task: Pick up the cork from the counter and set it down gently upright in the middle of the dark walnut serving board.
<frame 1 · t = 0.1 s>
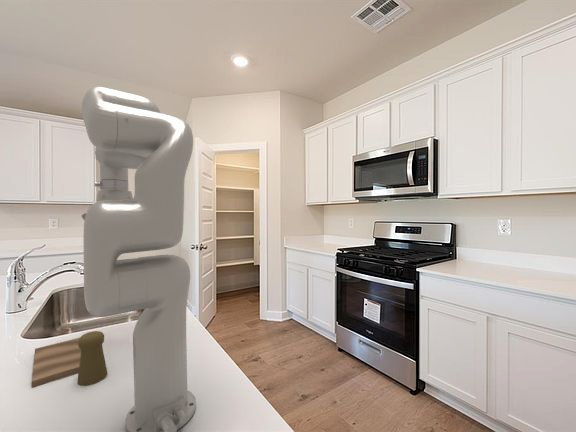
hand: (116, 240, 88), 31 cm above the table, tool pointing down, fingers open, 9 cm apart
cork: (92, 378, 67), on the table
walnut board: (63, 360, 75), on the table
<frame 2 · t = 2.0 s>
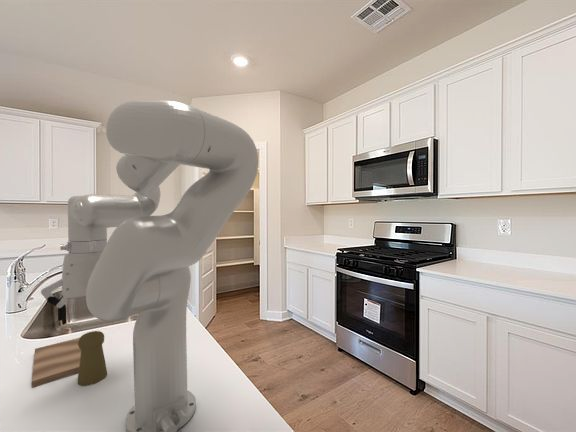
hand: (89, 317, 67), 15 cm above the table, tool pointing down, fingers open, 9 cm apart
nothing on the table moved.
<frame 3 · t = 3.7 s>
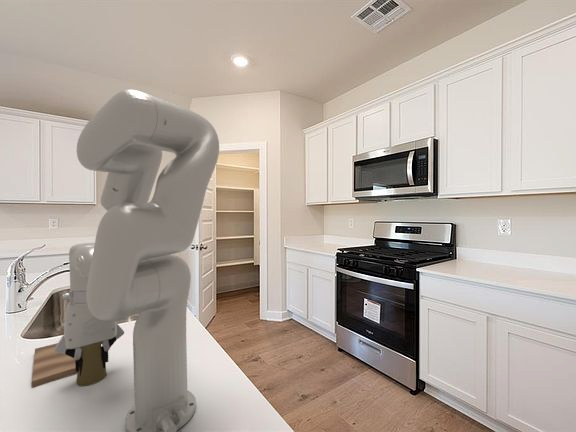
hand: (92, 368, 67), 2 cm above the table, tool pointing down, fingers closed on cork, 3 cm apart
cork: (91, 379, 67), on the table, touching gripper
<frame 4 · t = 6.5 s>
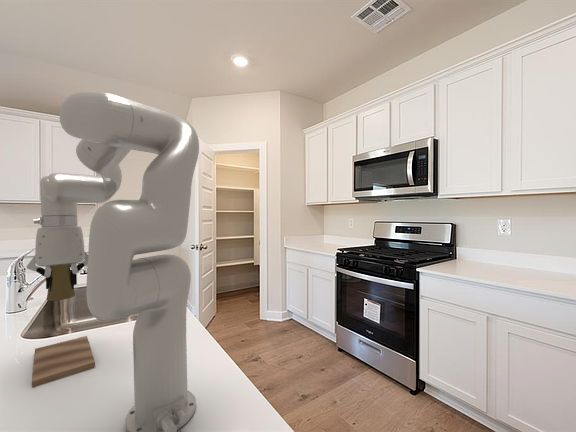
hand: (61, 288, 75), 19 cm above the table, tool pointing down, fingers closed on cork, 3 cm apart
cork: (61, 297, 75), point 17 cm above the table, touching gripper
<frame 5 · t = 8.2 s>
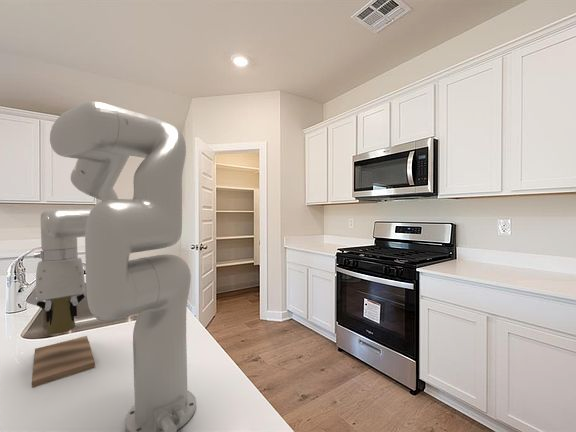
hand: (62, 320, 76), 11 cm above the table, tool pointing down, fingers closed on cork, 3 cm apart
cork: (61, 329, 75), point 8 cm above the table, touching gripper
when the fingers open (5 cm above the table, at t = 9.5 s): cork drops 1 cm, resting on walnut board.
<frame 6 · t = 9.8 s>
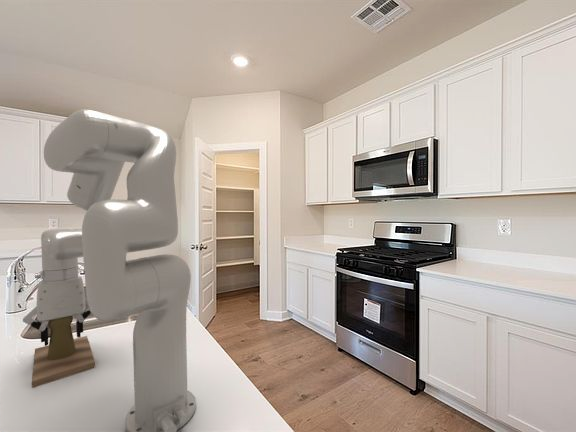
hand: (62, 339, 76), 6 cm above the table, tool pointing down, fingers open, 6 cm apart
cork: (61, 354, 75), point 1 cm above the table, touching walnut board
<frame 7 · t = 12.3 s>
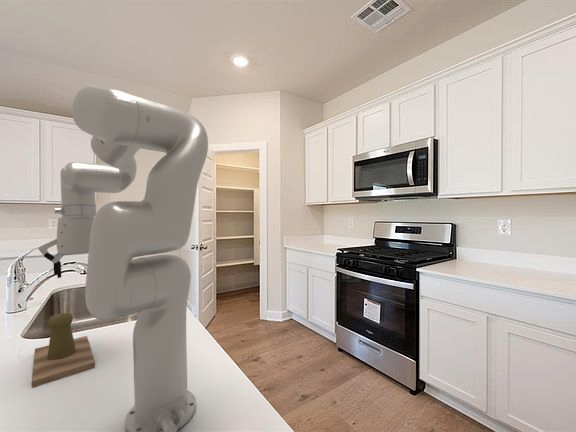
hand: (81, 273, 76), 23 cm above the table, tool pointing down, fingers open, 9 cm apart
nothing on the table moved.
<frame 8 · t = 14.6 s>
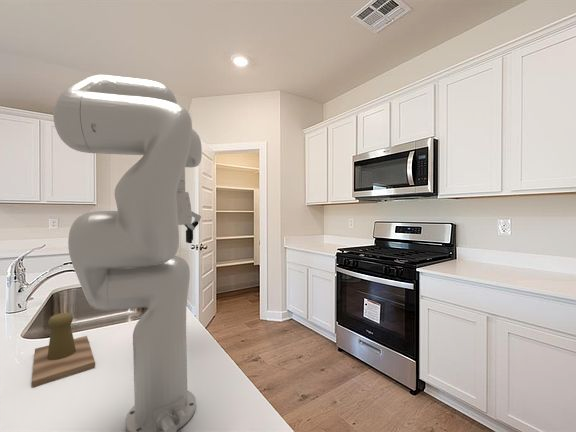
hand: (173, 244, 83), 30 cm above the table, tool pointing down, fingers open, 9 cm apart
nothing on the table moved.
at the end: cork inside the target area on the walnut board (0.9 cm from its centre), point 1.3 cm above the walnut board's base; cork tilted 0°; the gripper is holding nothing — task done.
